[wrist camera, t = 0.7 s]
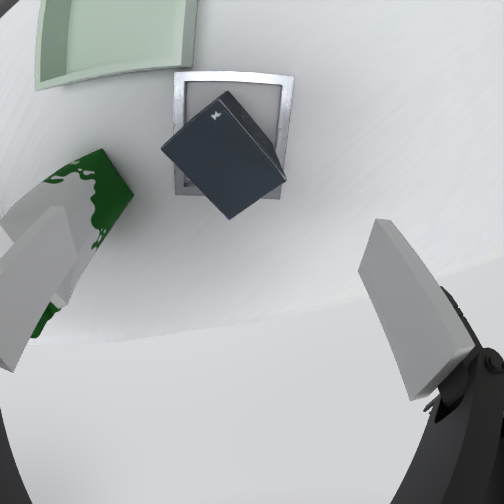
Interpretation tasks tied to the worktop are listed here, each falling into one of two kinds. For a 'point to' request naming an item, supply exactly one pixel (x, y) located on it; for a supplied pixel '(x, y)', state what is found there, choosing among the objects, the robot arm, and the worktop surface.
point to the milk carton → (71, 215)
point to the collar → (282, 80)
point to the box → (226, 156)
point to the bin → (111, 38)
